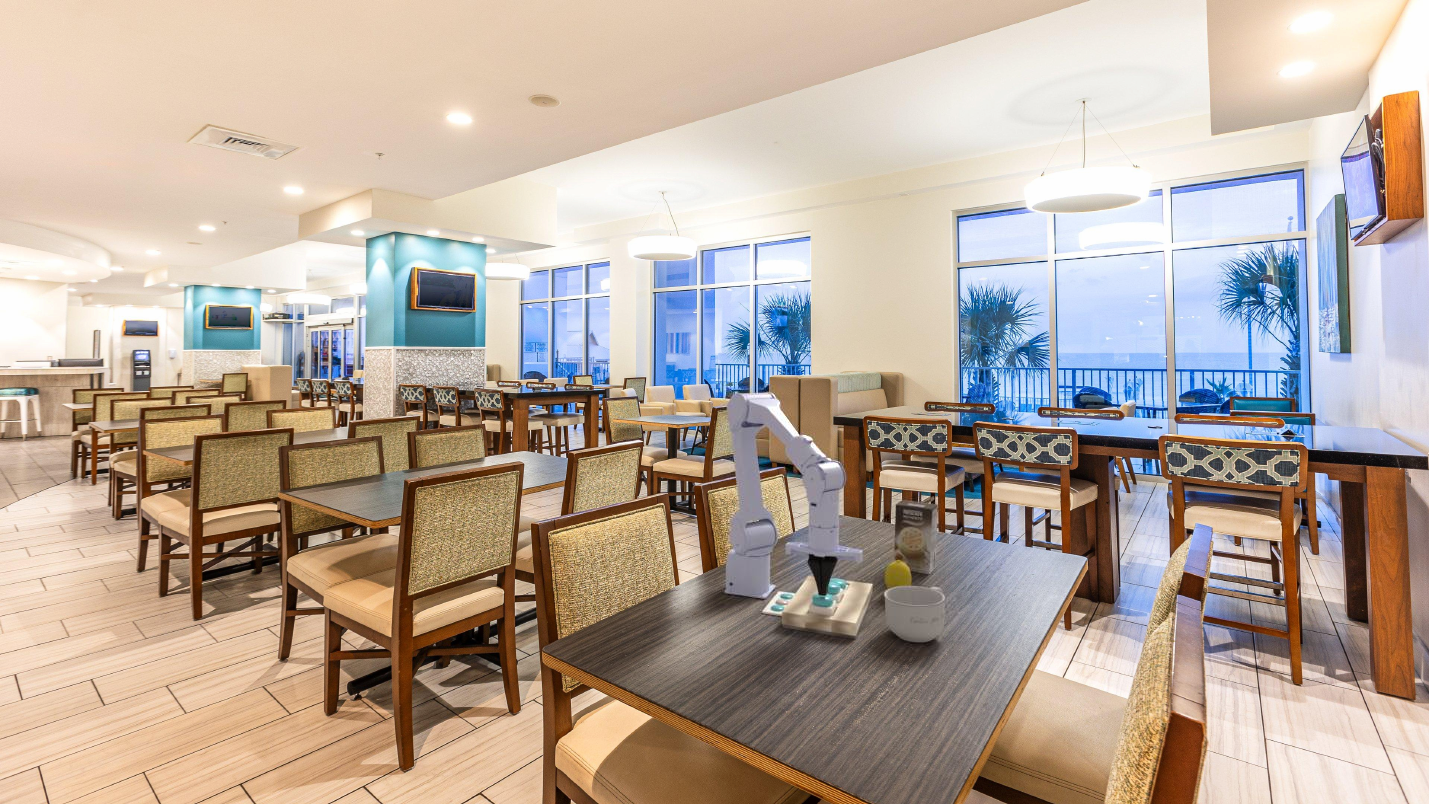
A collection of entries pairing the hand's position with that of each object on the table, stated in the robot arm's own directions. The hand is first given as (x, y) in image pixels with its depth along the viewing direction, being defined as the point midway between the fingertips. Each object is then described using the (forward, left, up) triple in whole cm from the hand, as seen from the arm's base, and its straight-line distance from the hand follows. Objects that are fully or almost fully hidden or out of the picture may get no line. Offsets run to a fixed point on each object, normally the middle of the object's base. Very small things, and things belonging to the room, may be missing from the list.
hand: (822, 594), depth 121 cm
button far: (0, +14, -5) cm, 15 cm away
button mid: (0, +7, -4) cm, 8 cm away
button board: (0, +7, -6) cm, 9 cm away
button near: (0, 0, -4) cm, 4 cm away
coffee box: (+14, +42, -6) cm, 45 cm away
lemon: (+12, +21, -6) cm, 25 cm away
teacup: (+18, +3, -6) cm, 19 cm away
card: (-10, +7, -6) cm, 14 cm away
